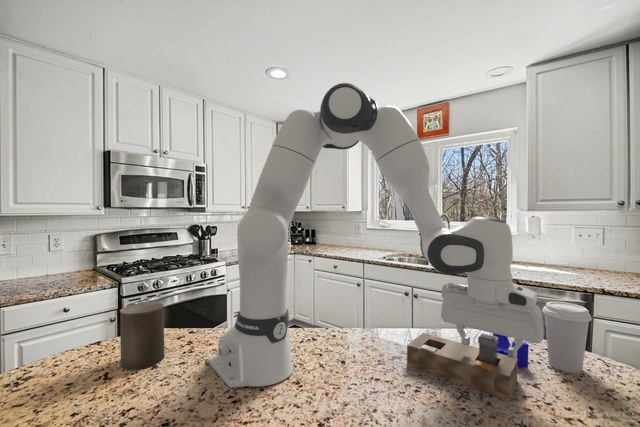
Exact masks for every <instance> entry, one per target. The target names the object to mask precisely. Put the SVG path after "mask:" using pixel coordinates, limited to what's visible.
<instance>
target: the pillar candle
mask: <svg viewBox="0 0 640 427" xmlns="http://www.w3.org/2000/svg"><path fill="white" fill-rule="evenodd" d="M164 307H165V306H164V303H163V302H159V301H147V302H146V301H145V302H144V301H143V302H139V303H135V304H130V305H126V306H124V307H122V308H121V309H119V313H120V317H119V318H120V340H119V342H120V347H119V348H120V367H121V368H122V369H124V370H130V371H131V370H143V369H147V368H150V367H152V366H155V365H157V364H159V363H160V362H162V361H163V359H164V358H165V317H164V316H165V314H164V313H165V308H164Z"/></svg>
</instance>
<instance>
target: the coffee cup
mask: <svg viewBox="0 0 640 427" xmlns="http://www.w3.org/2000/svg"><path fill="white" fill-rule="evenodd" d="M541 313H543V314H544V320H545V321H544V323H545V333H546V345H547V356H548V357H547V358H548V364H549V365H550V366H551V367H552V368H554V369H556V370H559V371H561V372H565V373H570V374H581V373H582V372H583V366H584V360H585V352H586V345H587V339H588V331H589V324H590V322H591V321H592V320H593V319H592V315H591V314H590V313H589V310H588V309H587V308H586V307H584V306H582V305H578V304H576V303H569V302H567V301H566V302H565V301H547V302H545V305H544V306H543V308H542V310H541Z"/></svg>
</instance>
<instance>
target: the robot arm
mask: <svg viewBox="0 0 640 427" xmlns="http://www.w3.org/2000/svg"><path fill="white" fill-rule="evenodd" d="M359 142H361V143H362V144H365V146H366V147H367V148H368V149H369V150H370V151H371V153H372V155H373V158H374V160H375V162H376V164H377V167H378V168H379V170H380V172H381V174H382V175H383V176H384V178H385V180H386V181H387V182H388V183H389V185H390V186H391V187H392V189H393V190H394V191H395V192H396V193H397V195H398V196H399V197H401V199H402V200H403V202H404V204H405V205H406V206H407V208H408V210H409V213H410V215H411V217H412V219H413V221H414V224H415V225H416V228H417V229H418V232H419V235H420V236H419V238H420V240H419V241H420V252H421V255H422V256H423V258H424V259H425V261H427V263H429V264H430V265H431V266H432V268H434V269H435V270H436V271H437V272H439V273H441V274H446V275H458V274H467V277H466V278H467V279H466V281H467V283H466V284H467V285H465V284H455V283H452V282H448V283H446V284H444V285H442V288H441V298H442V302H441V309H440V317H441V319H442V320H443V322H444V323H445V322H446V323H448V324H449V323H450V324H454V325H456V327H455V328H456V331H457V333H458V334H459V336H460V337H461V339H460V341H461V342H460V343H461V344H463V345H467V346H469V345H471V336H470V335H467V334H466V332H465V330H464V329H465V328H470V329H475V330H479V331H483V332H487V333H489V334H490V333H491V334H493V333H494V334H499V335H503V336H507V337H508V338H512V339H513V341H514V343H516V345H515V346H514V347H512V346H511V347H510V346H509V348H508V357H511V358H514V359H516V358H517V350H518V349H519V348H520V347H521V346H522V344H523V342H529V343H532V344H540V343H541V342H543V341H544V336H545V326H544V318H543V314H542V313H543V312H542V310H541V308H540V307H539V305H537V300H538V295H537V292H536V291H534V290H532V289H530V288H527V287H525V286H521V285H519V284H517V283H514V282H513V275H512V271H511V264H512V262H513V259H514V258H513V257H514V256H513V255H514V254H513V252H514V250H513V237H512V231H511V230H512V229H511V227H510V226H509V224H508V222H506V221H504V220H500V219H498V218H493V217H492V218H490V217H485V216H473V217H471V219H469V220H468V221H465V222H464V223H462V224H460V225H458V226H454V227H453V228H449V227H448V226H447V225H446V224H445V223H444V221H443V220H442V218H441V216H440V213H439V212H438V209H437V207H436V205H435V203H434V201H433V199H432V198H433V197H431V194H430V189H429V188H430V187H429V177H430V164H429V160H428V157H427V154H426V151H425V148H424V146H423V144H422V142H421V140H420V138H419V136H418V134H417V133H416V130H415V129H414V127H413V126H412V125H411V123H410V121H409V120H408V119H407V117H406V116H405V115H404V114H403V112H402V111H401V110H400V109H399V108H398V107H396V106H394V105H393V106H392V105H386V106H385V105H384V106H382V107H381V106H380V107H379V108H378V104H377V102H376V100H374V99H373V98H371V97H369V96H368V95H367V93H365V92H364V91H363V89H361V88H360V87H358V86H356V85H355V84H352V83H348V82H343V83H338V84H336V85H333V86H331V88H329V89H328V90H327V92H326V93H325V94H324V96H323V98H322V100H321V104H320V108H319V111H317V112H312V111H309V110H305V109H296V110H293V111H292V112H290V113H289V114H288V116H287V117H286V118H285V120H284V121H283V123H282V126H281V127H280V129H279V131H278V132H277V134H276V136H275V138H274V140H273V143H272V145H271V147H270V150H269V153H268V155H267V158H266V161H265V163H264V165H263V168H262V170H261V173H260V174H259V175H260V176H259V178H258V181H257V183H256V187H255V190H254V192H253V194H252V198H251V201H250V203H249V207H248V209H247V212H246V213H245V214H244V215H243V216H242V218H241V219H240V220H239V222H238V226H237V229H236V230H237V232H236V233H237V234H236V235H237V236H236V237H237V258H238V260H237V262H238V274H239V310H238V311H236V312H233V315H234V314H235V315H234V316H233V318H236V319H235V323H234V325H233V327H232V328H230V329H229V330H228V331H226V332H225V333H224V334H223V335H222V336H220V338H219V340H218V346H217V347H218V348H217V349H218V350H217V351H216V352H214V353H213V354H211V355H210V356H209V357H208V358H207V359H208V360H207V361H208V364H209V365H210V367H211V368H212V369H213V370H214V371H215V373H217V375H218V376H219V377H220V379H221V380H223V382H224V383H225V385H227V386H228V388H232V389H233V388H241V387H266V386H271V385H275V384H279V383H281V382H282V381H284V380H286V379H287V378H289V377H290V376H291V375H292V373H293V371H294V363H293V359H294V353H293V352H292V349H291V337H290V329H289V320H290V314H289V310H288V308H287V307H288V306H287V305H288V304H287V302H288V301H287V300H288V299H287V298H288V297H287V296H288V294H287V293H288V286H287V282H288V280H287V278H288V258H289V257H288V256H289V225H290V224H291V220H292V219H293V216H294V214H295V212H296V209H297V207H298V205H299V204H300V201H301V199H302V198H303V195H304V192H305V189H306V187H307V185H308V182H309V180H310V176H311V174H312V171H313V169H314V166H315V164H316V162H317V158H318V156H319V154H320V153H321V149H322V148H324V149H336V150H348V149H351V148H353V147H355V146H357V145H358V143H359Z"/></svg>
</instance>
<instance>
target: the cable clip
mask: <svg viewBox="0 0 640 427" xmlns="http://www.w3.org/2000/svg"><path fill="white" fill-rule="evenodd" d="M492 336H496V337H498V344H497V353H499V354H503V355H507V356H508V348H509V346H510V347H514V346H515V345H516V343H514V340H513V341H512V342H511V343H510V341H509V337H507V336H503V335H499V334H494V333H492ZM517 358H518V368H521V369H528V368H529V344H528V343H527V341H523V344H522V346H521V347H520V348H519V349H518V350H517ZM518 368H517V369H518Z"/></svg>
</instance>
